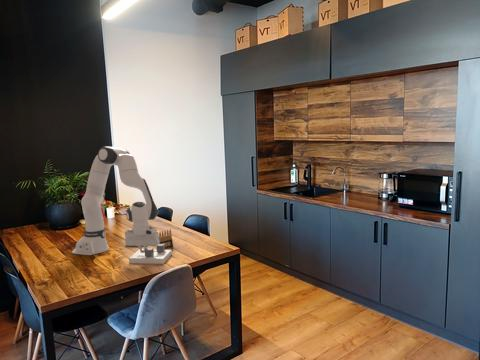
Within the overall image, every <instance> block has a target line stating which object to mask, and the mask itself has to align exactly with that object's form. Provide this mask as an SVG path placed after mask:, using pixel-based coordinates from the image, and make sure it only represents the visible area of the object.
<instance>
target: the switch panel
mask: <svg viewBox="0 0 480 360" xmlns="http://www.w3.org/2000/svg"><path fill="white" fill-rule="evenodd" d="M153 250H154V255H153V256H152V257H145V253H140V249H139V248H138V250H137V251H136V252H134V253H133V254H131V256H130V257H129V258H128V262H129V264H157V265H159V264H160V265H164V264H165V262H167V261H168V260H169V258H171V256H172V255H173V249H165V251H164V252H157V249H154V248H153Z"/></svg>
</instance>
